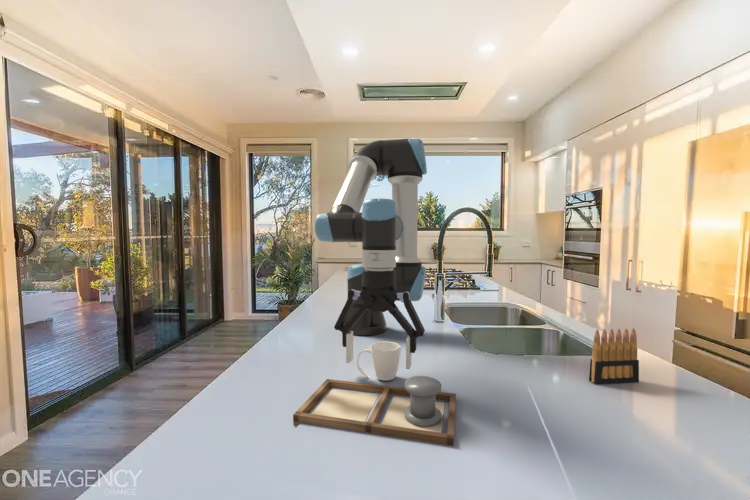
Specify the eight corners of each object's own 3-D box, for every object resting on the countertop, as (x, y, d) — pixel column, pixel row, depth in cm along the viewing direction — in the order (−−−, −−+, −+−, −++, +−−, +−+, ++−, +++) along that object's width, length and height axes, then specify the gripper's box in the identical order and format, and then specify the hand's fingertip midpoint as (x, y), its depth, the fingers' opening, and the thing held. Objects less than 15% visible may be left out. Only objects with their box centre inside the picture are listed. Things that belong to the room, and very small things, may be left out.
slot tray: (327, 387, 73) (327, 378, 73) (455, 402, 66) (455, 393, 66) (293, 424, 59) (293, 414, 59) (453, 449, 52) (453, 438, 52)
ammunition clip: (594, 384, 74) (596, 330, 74) (588, 381, 76) (590, 328, 76) (639, 382, 76) (641, 329, 75) (632, 379, 78) (633, 327, 77)
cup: (400, 389, 72) (400, 351, 72) (354, 386, 74) (354, 349, 73) (401, 375, 79) (402, 341, 79) (359, 373, 81) (359, 339, 80)
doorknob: (407, 405, 64) (407, 374, 64) (442, 410, 62) (442, 378, 62) (401, 424, 58) (401, 389, 57) (439, 429, 56) (440, 393, 56)
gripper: (320, 269, 75) (320, 364, 75) (434, 272, 69) (433, 376, 69) (332, 266, 82) (332, 353, 83) (437, 269, 76) (436, 363, 76)
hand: (378, 364), depth 76 cm, fingers open, 13 cm apart
